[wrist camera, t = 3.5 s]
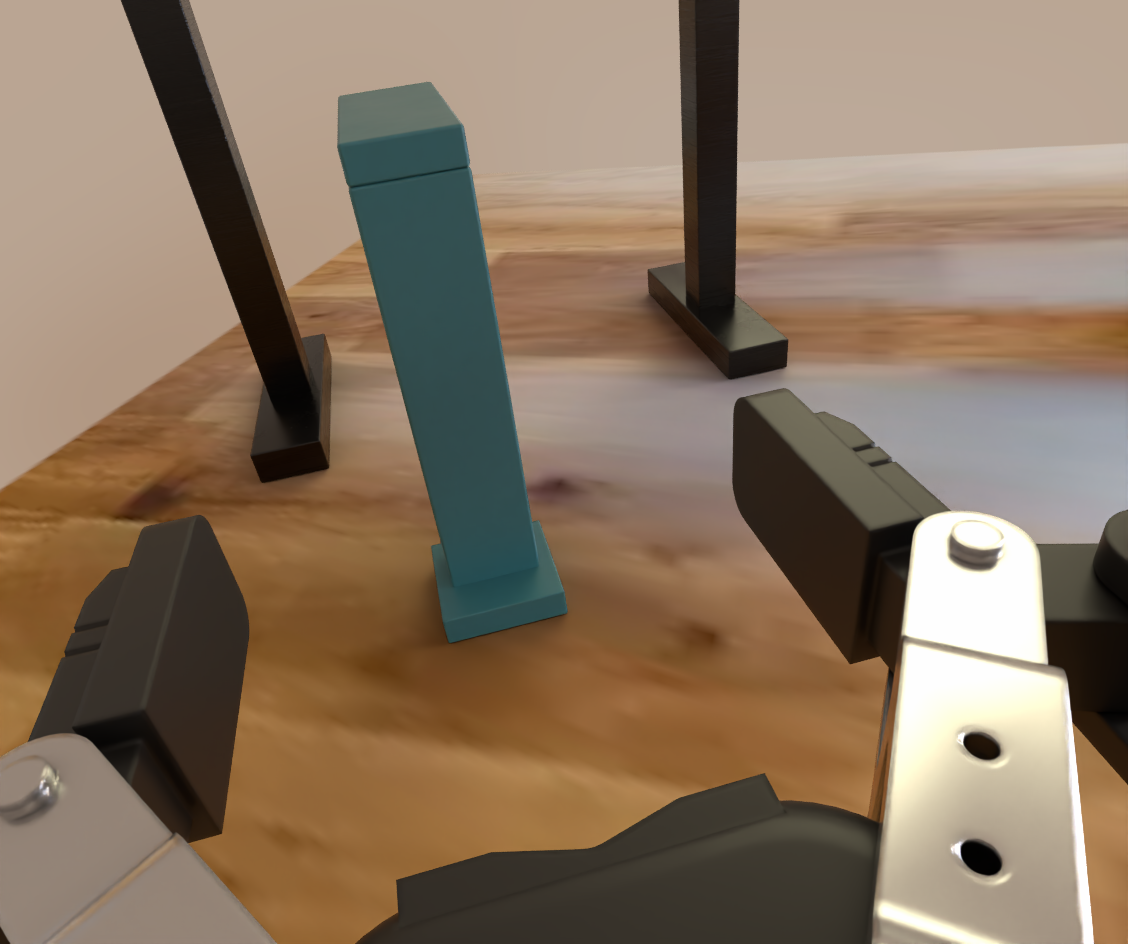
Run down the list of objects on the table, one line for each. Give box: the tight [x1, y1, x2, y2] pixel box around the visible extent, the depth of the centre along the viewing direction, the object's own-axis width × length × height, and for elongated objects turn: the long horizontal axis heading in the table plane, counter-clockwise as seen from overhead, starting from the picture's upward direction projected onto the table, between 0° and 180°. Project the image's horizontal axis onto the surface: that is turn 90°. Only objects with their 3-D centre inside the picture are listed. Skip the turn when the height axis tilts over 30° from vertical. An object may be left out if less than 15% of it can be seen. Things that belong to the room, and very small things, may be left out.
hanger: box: [337, 82, 567, 643], centre depth 25 cm, size 10×4×15 cm, turn 14°
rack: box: [121, 0, 788, 483], centre depth 34 cm, size 12×25×23 cm, turn 104°
